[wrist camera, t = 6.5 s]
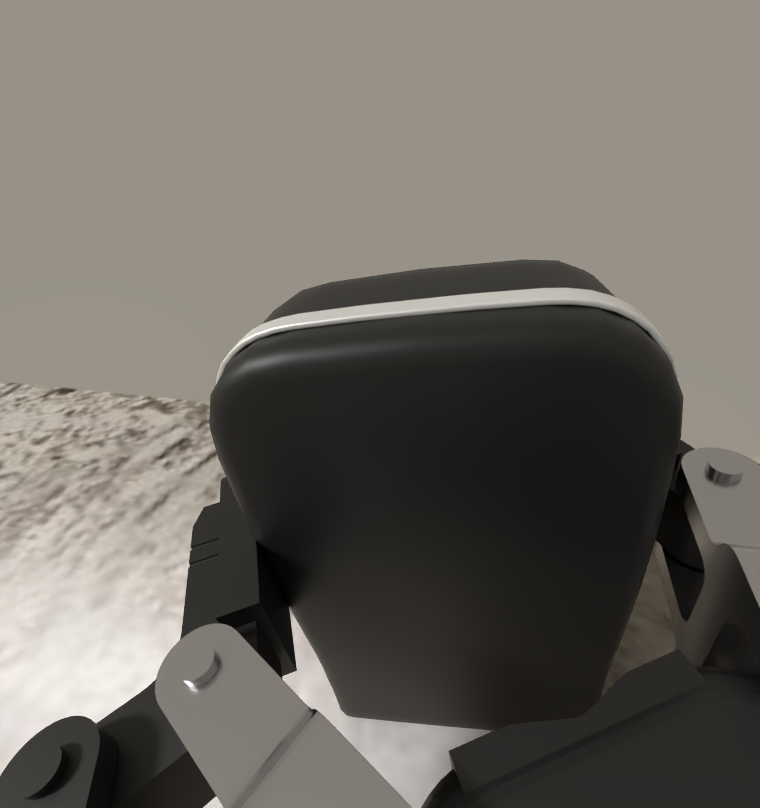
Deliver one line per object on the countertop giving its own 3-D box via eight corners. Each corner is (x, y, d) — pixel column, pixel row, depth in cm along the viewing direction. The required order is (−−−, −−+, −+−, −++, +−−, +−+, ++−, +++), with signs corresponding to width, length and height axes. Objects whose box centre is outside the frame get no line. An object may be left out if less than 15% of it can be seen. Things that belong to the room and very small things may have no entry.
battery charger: (570, 601, 14) (624, 221, 7) (606, 747, 10) (752, 301, 4) (357, 594, 15) (253, 269, 9) (333, 722, 12) (146, 356, 6)
